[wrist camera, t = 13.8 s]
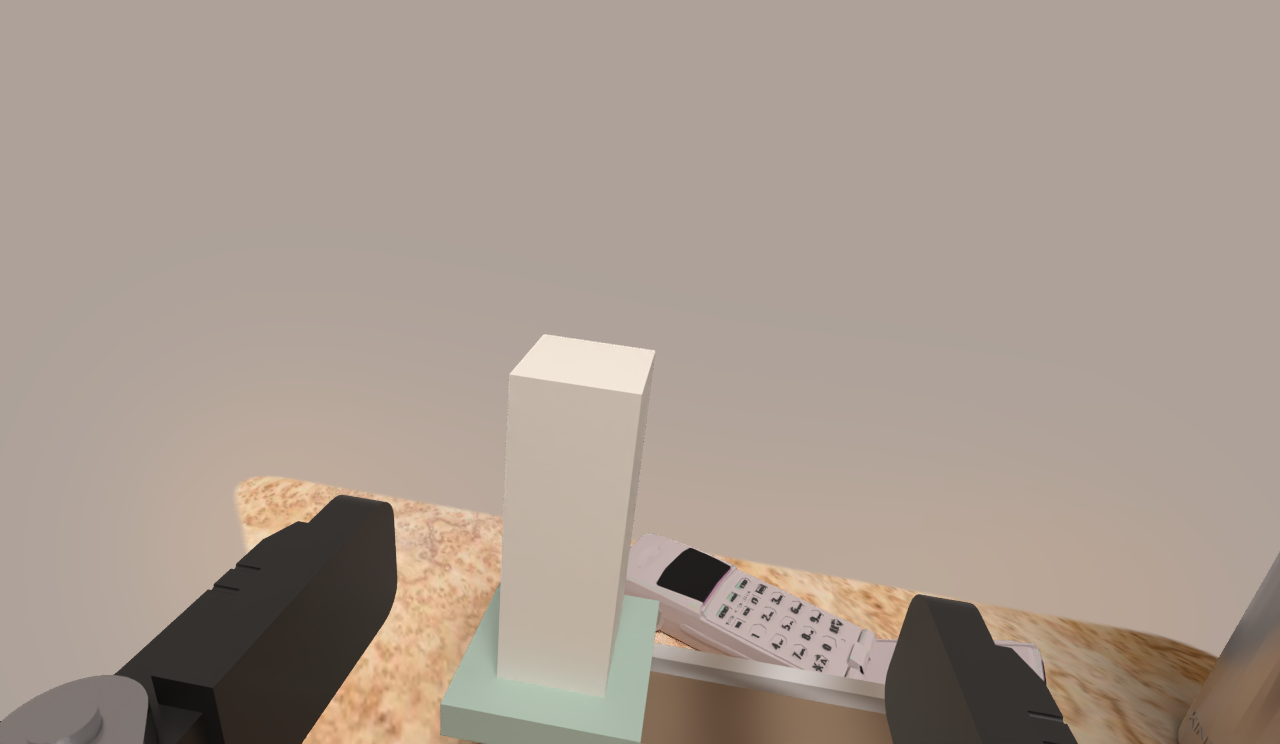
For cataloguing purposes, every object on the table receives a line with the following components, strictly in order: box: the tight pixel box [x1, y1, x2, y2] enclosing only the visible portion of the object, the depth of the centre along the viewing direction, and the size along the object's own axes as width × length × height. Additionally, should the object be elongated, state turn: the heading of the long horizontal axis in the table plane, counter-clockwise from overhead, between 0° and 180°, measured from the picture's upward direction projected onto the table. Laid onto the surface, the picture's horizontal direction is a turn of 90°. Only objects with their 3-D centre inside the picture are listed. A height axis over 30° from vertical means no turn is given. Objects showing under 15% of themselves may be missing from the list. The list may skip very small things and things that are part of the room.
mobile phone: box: [624, 533, 1046, 684], centre depth 37 cm, size 6×6×25 cm
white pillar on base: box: [441, 334, 660, 744], centre depth 23 cm, size 7×7×14 cm
